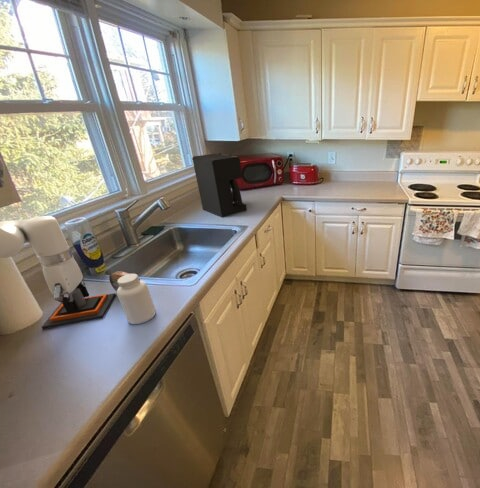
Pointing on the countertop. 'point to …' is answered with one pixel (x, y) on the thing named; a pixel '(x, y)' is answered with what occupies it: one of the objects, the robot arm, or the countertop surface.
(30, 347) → the countertop surface
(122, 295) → the pill bottle
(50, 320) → the base pad
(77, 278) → the robot arm
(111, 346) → the countertop surface
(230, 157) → the coffee maker
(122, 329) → the countertop surface
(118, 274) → the tin
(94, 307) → the stud pad
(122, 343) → the countertop surface
